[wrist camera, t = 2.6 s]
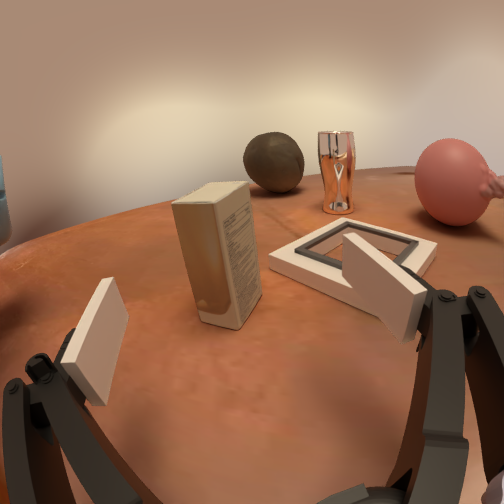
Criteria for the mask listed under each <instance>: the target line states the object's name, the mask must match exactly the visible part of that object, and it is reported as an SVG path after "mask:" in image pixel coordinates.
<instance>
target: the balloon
mask: <svg viewBox="0 0 504 504" xmlns="http://www.w3.org/2000/svg"><path fill="white" fill-rule="evenodd" d="M415 187H416V191H417V195H418V197H419V200H420V202H421V203H422V205H423V207H424V208H425V209H426V211H427V212H428V213H429V214H430V215H431V216H432V217H434V218H435V219H436V220H438V221H440V222H442V223H444V224H447V225H451V226H463V225H467V224H470V223H472V222H474V221H475V220H477V219H478V218H479V217H480V216H481V215H482V214H483V213H484V212H485V210H486V209H487V207H488V205H489V202H490V200H491V199H493V198H495V197H497V198H499V199H501V198H503V197H504V176H498V177H497V176H496V174H495V173H494V172H493V171H492V170H490V169H489V167H488V165H487V163H486V162H485V160H484V158H483V157H482V155H481V154H480V153H479V152H478V151H477V150H476V149H475V148H474V147H473V146H471V145H470V144H468V143H466V142H464V141H461V140H458V139H442V140H438V141H436V142H434V143H432V144H431V145H429V146H428V147H427V148H426V149H425V150H424V151H423V153H422V154H421V156H420V157H419V160H418V162H417V165H416V169H415Z"/></svg>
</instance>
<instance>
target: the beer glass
mask: <svg viewBox="0 0 504 504" xmlns="http://www.w3.org/2000/svg"><path fill="white" fill-rule="evenodd" d="M355 156H356V155H355V143H354V136H353V132H348V131H326V132H318V158H319V165H320V170H321V175H322V179H323V184H324V191H325V196H324V204H323V210H324V211H325V212H326V213H329V214H336V215H343V214H349V213H352V212H353V211H354V206H353V200H352V184H353V178H354V171H355V161H356V157H355Z"/></svg>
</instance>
